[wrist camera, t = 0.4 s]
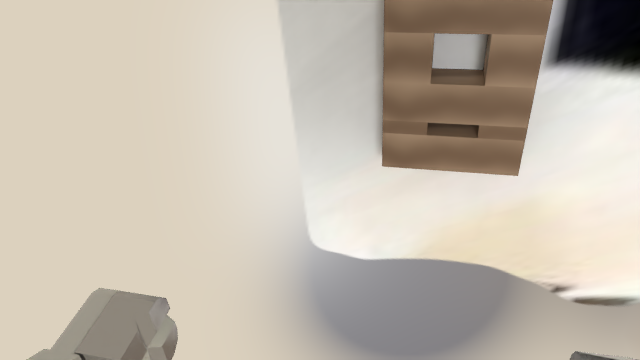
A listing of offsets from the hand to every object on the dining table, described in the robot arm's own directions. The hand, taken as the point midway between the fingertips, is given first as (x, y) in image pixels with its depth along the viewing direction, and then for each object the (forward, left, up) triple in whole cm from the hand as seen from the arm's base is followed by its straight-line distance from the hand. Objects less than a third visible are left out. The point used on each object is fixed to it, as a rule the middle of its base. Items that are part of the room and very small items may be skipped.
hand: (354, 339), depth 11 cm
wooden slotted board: (+15, +3, -44) cm, 46 cm away
